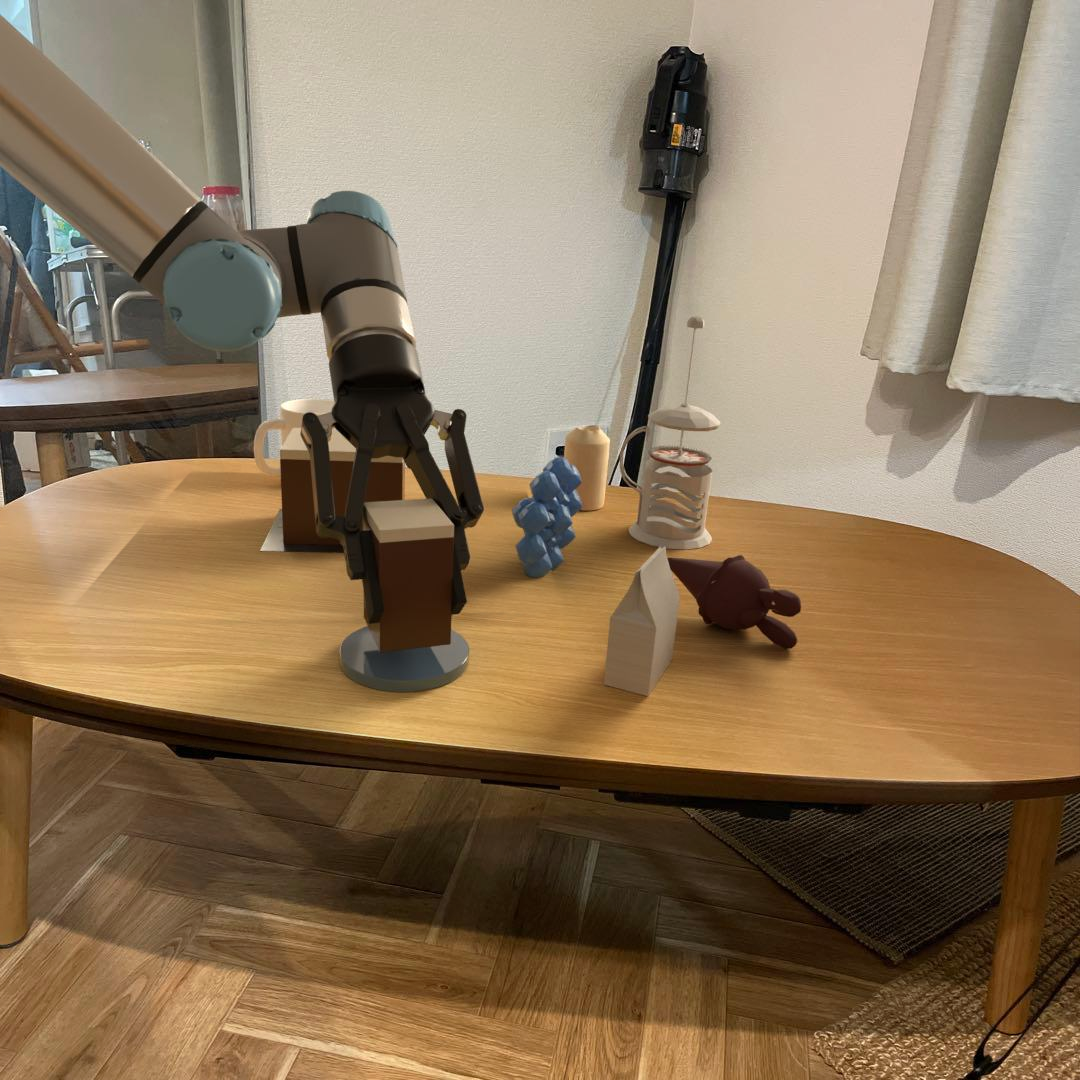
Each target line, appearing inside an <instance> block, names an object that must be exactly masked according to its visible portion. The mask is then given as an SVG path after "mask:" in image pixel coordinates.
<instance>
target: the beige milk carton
mask: <svg viewBox="0 0 1080 1080" xmlns="http://www.w3.org/2000/svg"><path fill="white" fill-rule="evenodd" d="M667 557H668V555H667V548H666V546H665V547H661V546H660V547H658V548H657V549H656V550H655V551H654V552H653V554H651V556H650V557H648V559H647V560H646V561H645V562H644V563H643V564H642V565H641V566H640V567H639V568H638V569H637V571H636V572H635V573H634V576H633V579H632V582H631V584H630V586H629V587H628V589H627V591H626V593H625V595H624V596H623V597H622V599H621V601H620V602H619V603H618V605H617V607H616V608H615V609H614V611H613V612H612V613H611V616H610V617H609V628H608V629H609V630H608V638H607V647H606V658H605V667H604V675H603V676H604V677H603V685H605V686H606V687H607V686H608V687H611V688H616V689H619V690H623V691H626V692H629V693H634V694H637V695H642V696H646V697H649V696H650V694H651V693H652V692H653V690H654V688H655V687H656V685H657V684H658V682H659V681H660V679H661V678H662V676H663V675H664V673H665V672H666V670H667V669H668V667H669V665H670V664H671V662H672V661H673V653H674V648H675V641H676V639H675V638H676V632H677V626H678V625H677V624H678V623H677V622H678V617H679V616H678V615H679V607H680V603H681V595H680V591H679V589H678V586H677V584H676V581H675V578H674V575H673V572H672V571H671V569H670V566H669V562H668V559H667Z"/></svg>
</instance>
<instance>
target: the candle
mask: <svg viewBox="0 0 1080 1080" xmlns="http://www.w3.org/2000/svg"><path fill="white" fill-rule="evenodd" d="M610 445H611V439H610V438H609V437H608V436H607V434H606V433H605V432H604V431H603V430H602V429H601V428H600V426H599V425H596V424H591V425H587V426H584V427H579V426H577V427H575V428H574V429H573V430H571V431H569V433H567V434H566V435H565V438H564V451H563V457H564V458H565V459H567V460H568V462H569V464H572V465H574V466H575V467H576V468H577V470H578V472H579V474H580V477H581V480H582V483H581V484H580V485H579V486H578V487H577V488H576V489H575V491H577V493H578V495H579V496H580V499H581V502H582V506H583V507H582V508H581V509H580V510H579V511H598V510H600V509H602V508H603V507H604V505H605V498H606V488H607V487H606V486H607V476H608V467H609V456H610Z"/></svg>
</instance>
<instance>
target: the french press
mask: <svg viewBox="0 0 1080 1080" xmlns="http://www.w3.org/2000/svg"><path fill="white" fill-rule="evenodd" d="M686 328H690V329H693V335H692V343H691V349H690V350H691V351H690V359H689V368H688V376H687V385H686V392H685V400H684V403H681V404H670V405H665V406H662V407H660V408H658V409H656V410H654V411H652V412H651V413H649V414H648V415H647V417H648V419H649V421H650V423H651V424H653V425H655V426H658V427H662V428H666V429H671V430H678V431H681V434H680V442H679V445H677V446H676V445H670V444H669V445H658V446H653V447H651V448H650V449H649V450H647V453H648V455H649V457H650V458H651V459H647V460H646V462H645V463H644V468H643V477H642V486H641V485H639V484H638V483H636V482H635V481H633V479H631V478H630V476H629V475H628V474H627V473H626V469H625V466H624V451H625V448H626V446H627V444H628V443H629V441H630V440H632V438H634V437H635V436H636V435H638V434H640V433H642V432H643V433H644V432H645V441H646V442H648V441H649V439H650V431H651V428H650V427H649V426H646V425H643V426H640V427H638V428H635V429H634V430H633V431H632V432H631V433H629V434H628V435H627V437H626V438H625V440H624V441H623V444H622V446H621V450H620V452H619V471H620V474H621V477H622V480H623V481H624V482H625V483H626V484H627V485H628V486H629V487H630V488H632V489H633V490H634V491H635V492H637V493H638V495H639V498H638V508H637V509H638V510H637V520H636V521H635V522H634V523H632V524H631V525H630V526H629V528H628V529H627V530H628V532H629V535H630V536H631V537H632V538H634V539H635V540H637V541H638V542H640V543H644V544H647V545H649V546H653V547H658V548H659V547H660V546H661V548H663V547H665V546H666V549H667V550H669V549H670V550H693V549H700V548H703V547H706V546H709V545H710V544H711V542H712V541H713V538H712V536H711V534H710V532H709V531H708V530H707V529H706V520H707V514H708V507H709V499H710V491H711V484H712V476H713V469H712V467H710V466H709V465H707V464H709V463H710V462H711V460H712V459H713V457H712V456H711V455H710V454H709V453H708V452H706V451H704V450H702V449H697V448H695V447H694V448H693V447H687V446H683V441H684V440H683V439H684V432H685V431H686V432H712V431H716V430H717V429H719V427H720V426H721V421H720V420H719V419H718V418H717V417H716V416H715V415H714V414H713V413H711V412H709V411H707V410H706V409H703V408H701V407H698V406H695V405H691V404H690V403H688V399H689V390H690V381H691V374H692V365H693V356H694V349H695V340H696V331H697V329H705V320H704V319H703V317H700V316H691V317H690V318H689V319H688V320H687V322H686ZM667 467H672V468H675V469H678V470H680V471H682V472H683V473H684V474H686V475H687V476H682V475H681V474H679V473H677V472H674V471H664V472H657V471H658V470H660V469H663V468H667ZM632 484H633V485H632ZM666 488H670V489H673V490H676V491H678V492H679V493H678V492H675V491H672V490H670V489H666ZM681 494H682V495H681ZM684 496H685V497H684ZM700 496H702V497H700ZM664 498H668V499H672V500H675V501H676V502H678V503H679V504H681V505H682V506H683V507H682V506H679V505H678V504H677V503H674V502H671V501H668V500H665V499H664ZM684 507H685V508H684ZM700 507H701V508H700Z"/></svg>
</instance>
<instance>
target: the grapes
mask: <svg viewBox="0 0 1080 1080" xmlns="http://www.w3.org/2000/svg"><path fill="white" fill-rule="evenodd" d="M581 483H582V480H581V477H580V474H579V472H578V470H577V468H576V467H575V466H574V465H572V464H569V462H568V460H567V459H565V458H564V456H556V457H553V459H551V460H550V461H549V462H548V463H547V464H546V465H545V466H544V467H543V469H542V471H541V472H540V473H539V474H537V475H536V476H535V477H534V478H533V480H532V481H531V482H530V483H529V490H530V492H531V495H532V496H531V497H523V498H522V499H521V500H519V501H518V502H517V503H516V505H515V506H514V507H513V508H512V509H511V513H512V517H513V521H514V523H515V524H516V526H517V527H518V528H520V529H522V531H523V535H524V536H523V537H521V538H520V540H519V541H518V542H516V544H515V545H514V546H515V550H516V551H515V552H516V554H517V558H518V559H519V560H520V562H521V564H522V568H523V571H524V573H525V575H526V576H527V577H529V578H542V577H544V576H546V575H548V574H549V572H551V573H553V572H554V571H556V570H557V569H558V568H559V567H560V566H561V565H562V564H563V563H564V562H565V560H564V556H563V553H562V549H565V548H566V547H568V546H569V544H571V543H572V542H573V541H574V540H575V539H576V533H575V529H574V527H573V519H572V517H574V516H575V515H576V514H577V513H578V512H579V511H581V510H580V509H581V508H582V507H583V506H582V502H581V499H580V496H579V495H578V493H577V491H575V489H576V488H577V487H578V486H579V485H580V484H581Z"/></svg>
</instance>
